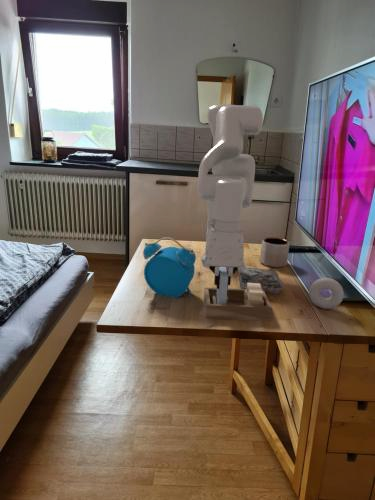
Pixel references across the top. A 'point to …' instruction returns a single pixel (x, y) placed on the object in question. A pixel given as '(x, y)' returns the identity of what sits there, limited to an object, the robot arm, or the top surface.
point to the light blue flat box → (222, 286)
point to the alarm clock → (169, 268)
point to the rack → (235, 306)
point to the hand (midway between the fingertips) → (222, 286)
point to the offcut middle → (253, 302)
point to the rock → (261, 279)
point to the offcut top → (254, 291)
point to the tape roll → (326, 284)
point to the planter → (274, 252)
